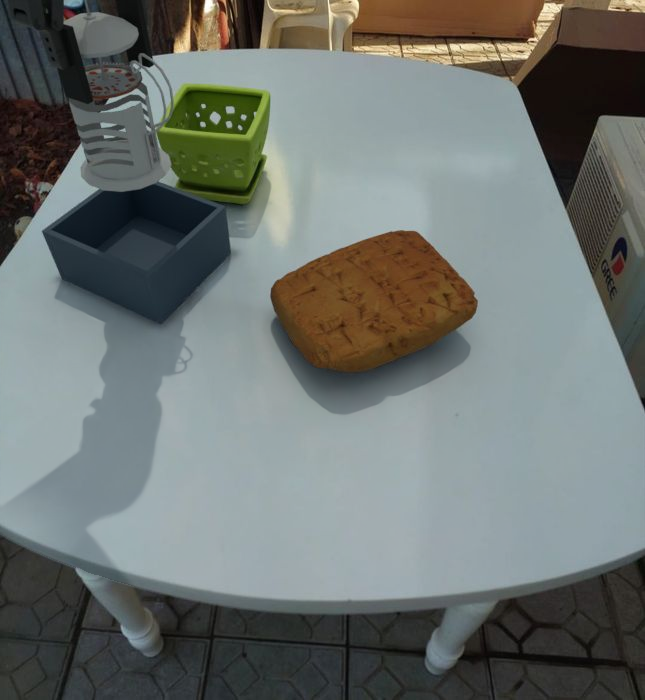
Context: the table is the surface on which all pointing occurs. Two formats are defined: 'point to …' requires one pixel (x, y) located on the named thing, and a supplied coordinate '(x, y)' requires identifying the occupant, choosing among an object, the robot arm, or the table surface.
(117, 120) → the french press
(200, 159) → the flower pot
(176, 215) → the tub
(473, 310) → the inscribed clay slab
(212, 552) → the table surface
